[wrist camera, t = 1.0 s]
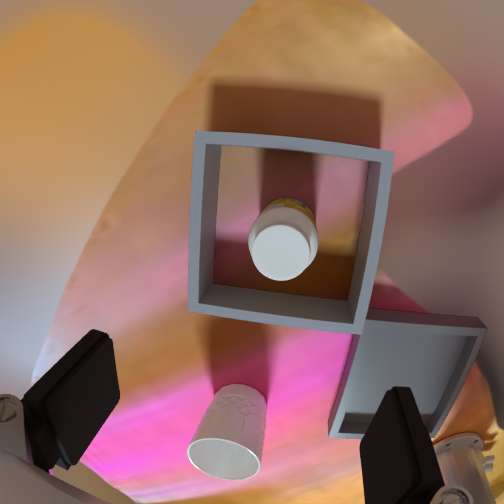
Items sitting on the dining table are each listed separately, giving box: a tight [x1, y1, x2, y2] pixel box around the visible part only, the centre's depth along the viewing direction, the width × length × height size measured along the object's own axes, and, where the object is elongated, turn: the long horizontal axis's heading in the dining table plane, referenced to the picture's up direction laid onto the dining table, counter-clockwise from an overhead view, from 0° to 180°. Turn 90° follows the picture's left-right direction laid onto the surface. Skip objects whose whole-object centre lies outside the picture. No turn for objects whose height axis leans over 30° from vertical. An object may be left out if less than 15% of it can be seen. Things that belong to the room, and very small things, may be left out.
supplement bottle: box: [248, 198, 318, 281], centre depth 26 cm, size 5×5×10 cm
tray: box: [328, 308, 487, 439], centre depth 32 cm, size 15×17×3 cm
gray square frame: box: [188, 131, 394, 335], centre depth 29 cm, size 16×16×5 cm
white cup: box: [187, 384, 267, 481], centre depth 33 cm, size 8×8×10 cm
